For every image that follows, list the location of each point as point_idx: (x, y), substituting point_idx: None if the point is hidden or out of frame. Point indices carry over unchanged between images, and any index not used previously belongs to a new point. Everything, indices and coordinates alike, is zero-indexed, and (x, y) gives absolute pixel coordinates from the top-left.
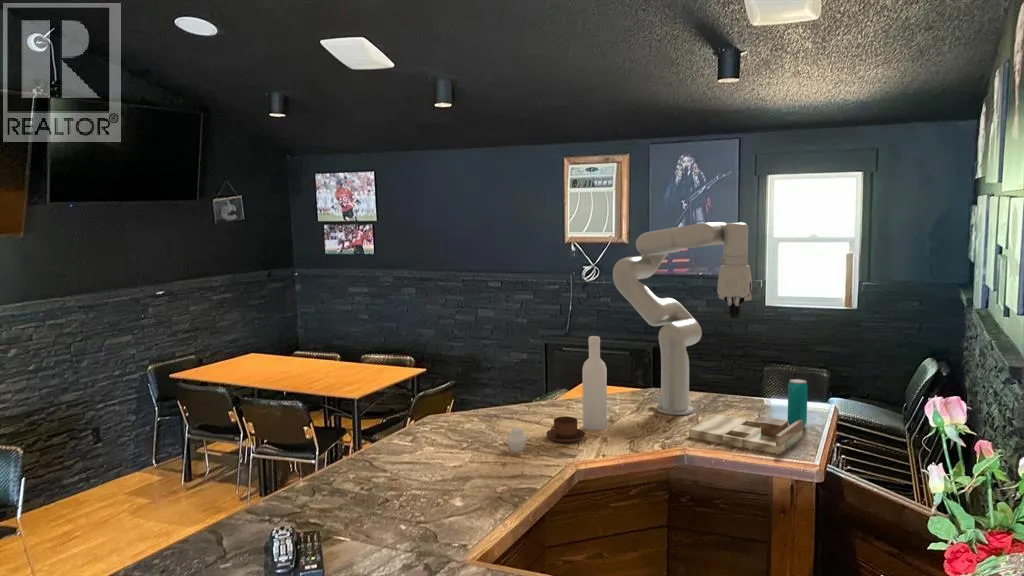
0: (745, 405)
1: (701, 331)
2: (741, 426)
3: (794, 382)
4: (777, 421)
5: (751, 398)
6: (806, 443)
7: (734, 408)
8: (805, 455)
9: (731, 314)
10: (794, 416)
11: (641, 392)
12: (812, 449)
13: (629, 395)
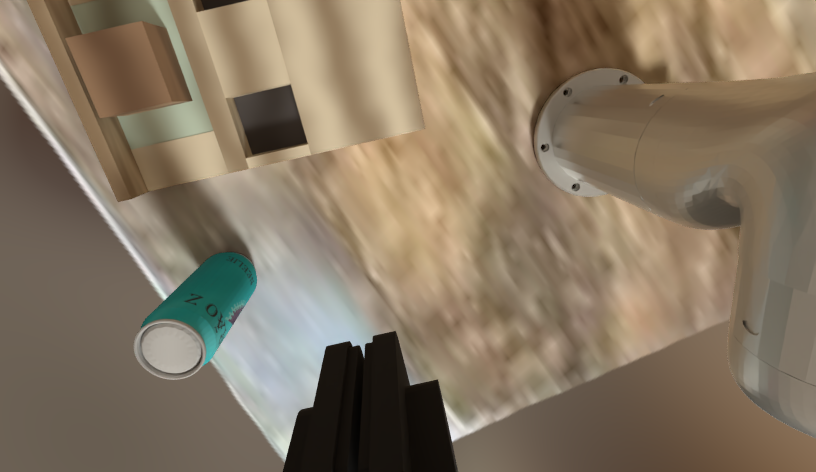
0: (463, 342)
1: (762, 403)
2: (274, 67)
3: (159, 320)
4: (116, 80)
5: (492, 409)
6: None
7: (468, 294)
8: (11, 28)
9: (377, 356)
10: (210, 261)
11: None
12: (46, 103)
13: None
